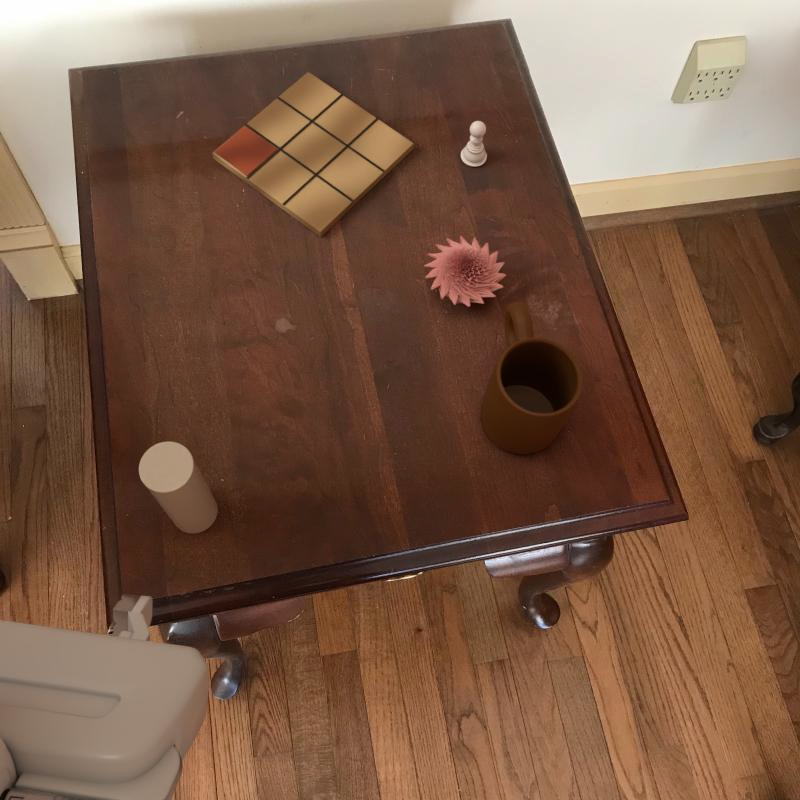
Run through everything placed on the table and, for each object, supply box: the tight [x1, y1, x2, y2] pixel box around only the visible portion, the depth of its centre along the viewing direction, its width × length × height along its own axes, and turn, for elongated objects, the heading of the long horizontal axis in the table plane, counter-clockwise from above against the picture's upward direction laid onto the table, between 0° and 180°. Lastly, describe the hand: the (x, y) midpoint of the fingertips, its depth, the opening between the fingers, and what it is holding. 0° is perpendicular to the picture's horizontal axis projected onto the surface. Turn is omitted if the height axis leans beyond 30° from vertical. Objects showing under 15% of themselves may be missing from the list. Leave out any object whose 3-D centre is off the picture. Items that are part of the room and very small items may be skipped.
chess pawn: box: [460, 120, 488, 168], centre depth 87 cm, size 3×3×5 cm
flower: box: [423, 235, 507, 308], centre depth 80 cm, size 8×8×6 cm
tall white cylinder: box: [138, 441, 219, 534], centre depth 67 cm, size 4×4×12 cm
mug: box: [480, 301, 584, 455], centre depth 74 cm, size 12×8×9 cm, turn 10°
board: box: [211, 71, 414, 238], centre depth 88 cm, size 15×15×1 cm
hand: (52, 592), depth 44 cm, fingers open, 8 cm apart
